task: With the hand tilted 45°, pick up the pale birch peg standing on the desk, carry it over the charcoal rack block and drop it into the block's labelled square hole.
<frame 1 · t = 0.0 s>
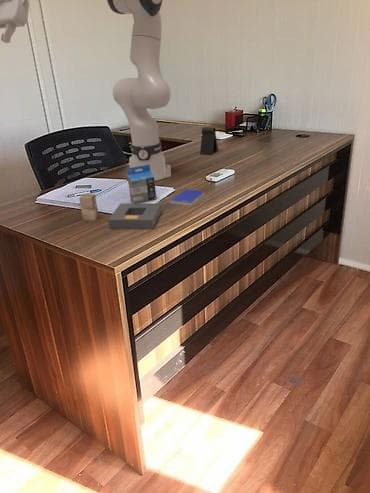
birch peg: (91, 218, 144), on the table
rack block: (136, 219, 140), on the table
label tape box: (143, 200, 157), on the table
hard drive: (187, 200, 156), on the table
phone stand: (209, 152, 211), on the table
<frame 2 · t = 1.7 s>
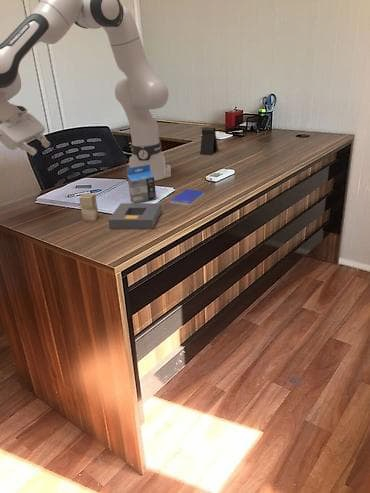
hand: (42, 149, 135), 23 cm above the table, tool tilted 45°, fingers open, 8 cm apart
nothing on the table moved.
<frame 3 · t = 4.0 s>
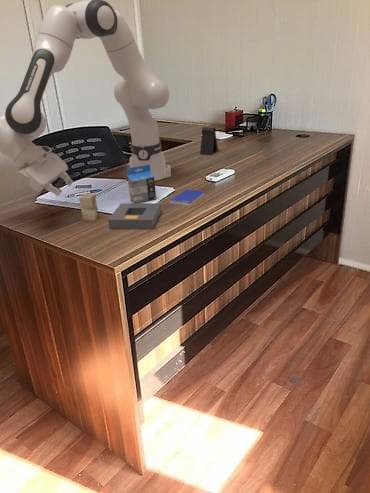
hand: (65, 188, 140), 10 cm above the table, tool tilted 45°, fingers open, 8 cm apart
nothing on the table moved.
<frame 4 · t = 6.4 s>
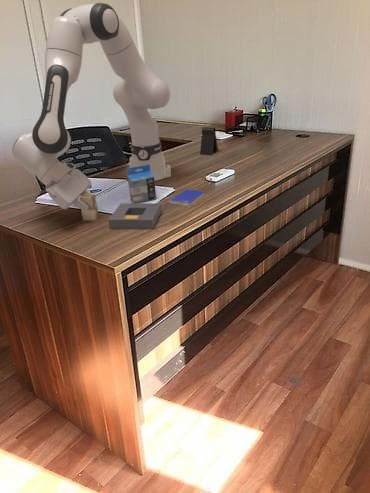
hand: (90, 205, 142), 5 cm above the table, tool tilted 45°, fingers closed on birch peg, 4 cm apart
birch peg: (91, 218, 144), on the table, touching gripper
everything else where it was.
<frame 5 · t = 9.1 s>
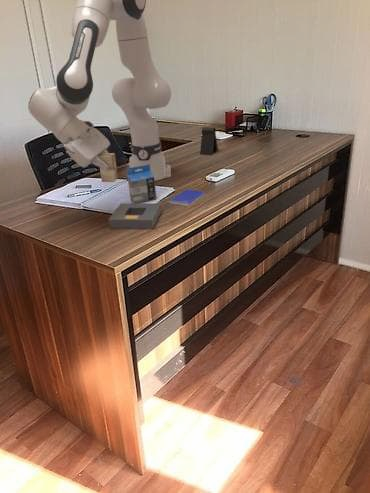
hand: (110, 165, 134), 18 cm above the table, tool tilted 45°, fingers closed on birch peg, 4 cm apart
birch peg: (110, 179, 136), point 13 cm above the table, touching gripper
everything else where it was.
when the fingers open (6 cm above the table, at t = 12.2 s): birch peg drops 2 cm, resting in rack block.
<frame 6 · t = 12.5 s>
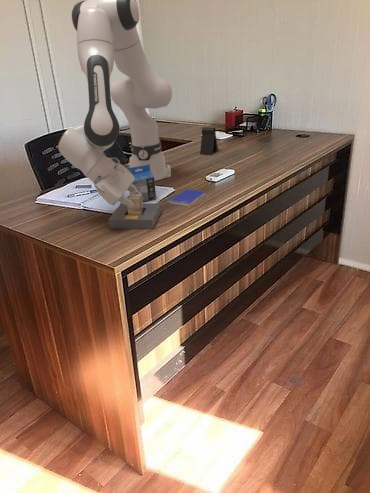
hand: (136, 201, 137), 6 cm above the table, tool tilted 45°, fingers open, 7 cm apart
birch peg: (136, 219, 140), resting in rack block
everything else where it was.
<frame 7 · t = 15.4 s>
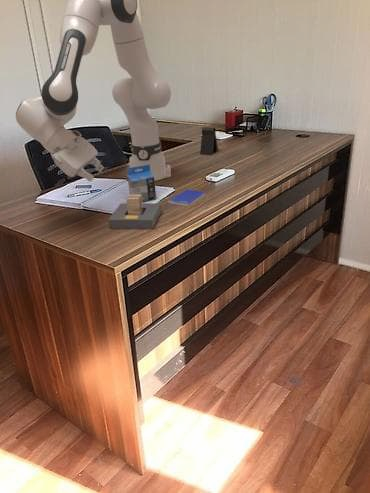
hand: (97, 174, 135), 15 cm above the table, tool tilted 45°, fingers open, 8 cm apart
nothing on the table moved.
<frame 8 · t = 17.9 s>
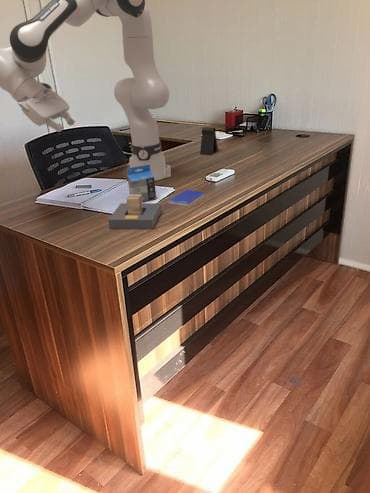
hand: (67, 127, 135), 29 cm above the table, tool tilted 45°, fingers open, 8 cm apart
nothing on the table moved.
at the end: birch peg 0.1 cm off-centre on the rack block, point 0.0 cm above the rack block's base; birch peg tilted 0°; the gripper is holding nothing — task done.
